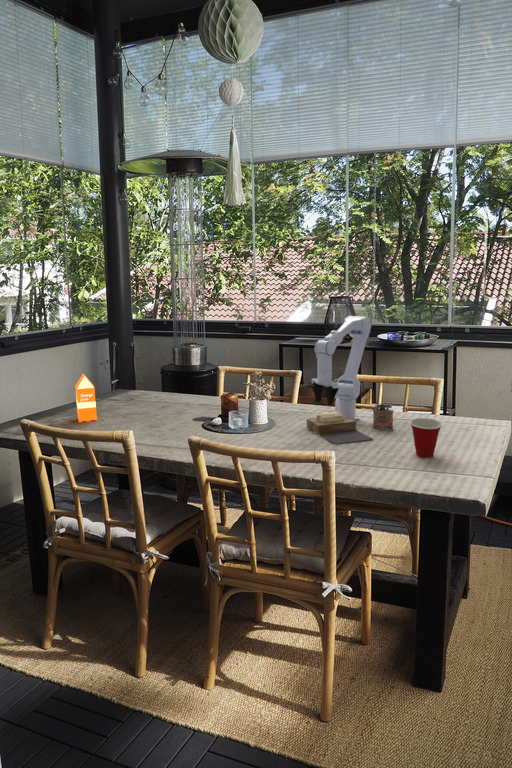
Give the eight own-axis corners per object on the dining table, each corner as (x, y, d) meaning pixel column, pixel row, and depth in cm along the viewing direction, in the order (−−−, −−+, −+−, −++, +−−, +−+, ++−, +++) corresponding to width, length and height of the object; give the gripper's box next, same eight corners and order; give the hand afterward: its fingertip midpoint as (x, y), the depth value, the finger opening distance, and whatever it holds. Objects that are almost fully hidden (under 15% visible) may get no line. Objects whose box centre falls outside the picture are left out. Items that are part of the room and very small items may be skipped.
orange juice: (95, 416, 300) (92, 372, 296) (97, 420, 291) (93, 375, 287) (77, 417, 297) (74, 373, 293) (78, 422, 289) (75, 376, 285)
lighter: (372, 428, 267) (372, 404, 265) (373, 426, 270) (373, 402, 268) (392, 429, 265) (392, 405, 263) (393, 427, 268) (394, 403, 266)
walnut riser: (306, 428, 270) (306, 418, 269) (342, 424, 275) (342, 414, 274) (319, 435, 259) (318, 425, 258) (356, 431, 264) (356, 421, 263)
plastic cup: (422, 461, 224) (423, 427, 221) (402, 453, 233) (403, 420, 231) (448, 457, 228) (449, 423, 225) (428, 449, 238) (429, 416, 235)
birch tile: (316, 419, 268) (316, 414, 268) (336, 416, 271) (336, 412, 271) (322, 422, 263) (322, 417, 262) (343, 420, 266) (343, 415, 265)
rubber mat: (319, 435, 259) (319, 434, 259) (356, 431, 264) (356, 430, 264) (334, 444, 246) (334, 443, 246) (373, 440, 251) (373, 438, 251)
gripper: (305, 368, 272) (305, 401, 274) (328, 373, 260) (327, 407, 262) (319, 367, 275) (319, 399, 278) (342, 371, 263) (341, 405, 266)
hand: (324, 403), depth 270 cm, fingers open, 7 cm apart
